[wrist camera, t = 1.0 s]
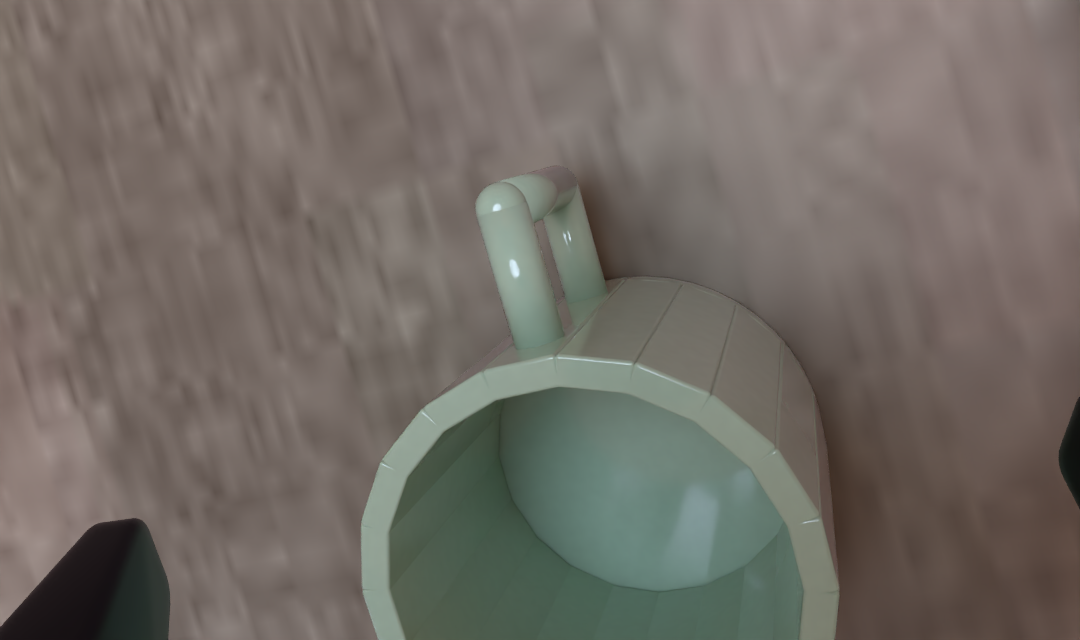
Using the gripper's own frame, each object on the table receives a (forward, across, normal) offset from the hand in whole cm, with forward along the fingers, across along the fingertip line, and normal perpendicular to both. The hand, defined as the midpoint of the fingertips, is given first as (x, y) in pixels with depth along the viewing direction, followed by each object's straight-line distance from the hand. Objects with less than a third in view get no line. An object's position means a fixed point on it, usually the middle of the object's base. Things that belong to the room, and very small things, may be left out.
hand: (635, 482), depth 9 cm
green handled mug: (+12, -3, +9) cm, 16 cm away
